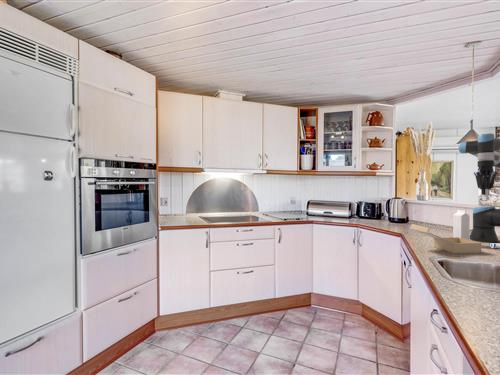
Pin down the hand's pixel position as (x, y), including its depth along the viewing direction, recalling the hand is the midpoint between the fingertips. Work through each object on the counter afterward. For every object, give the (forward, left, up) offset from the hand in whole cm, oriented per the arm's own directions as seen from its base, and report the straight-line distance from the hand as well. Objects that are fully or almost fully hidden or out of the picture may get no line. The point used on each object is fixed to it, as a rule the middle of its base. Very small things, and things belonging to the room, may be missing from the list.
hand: (485, 200), depth 169 cm
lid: (+33, 0, -18) cm, 37 cm away
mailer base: (+18, 0, -29) cm, 34 cm away
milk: (+3, -14, -30) cm, 33 cm away
